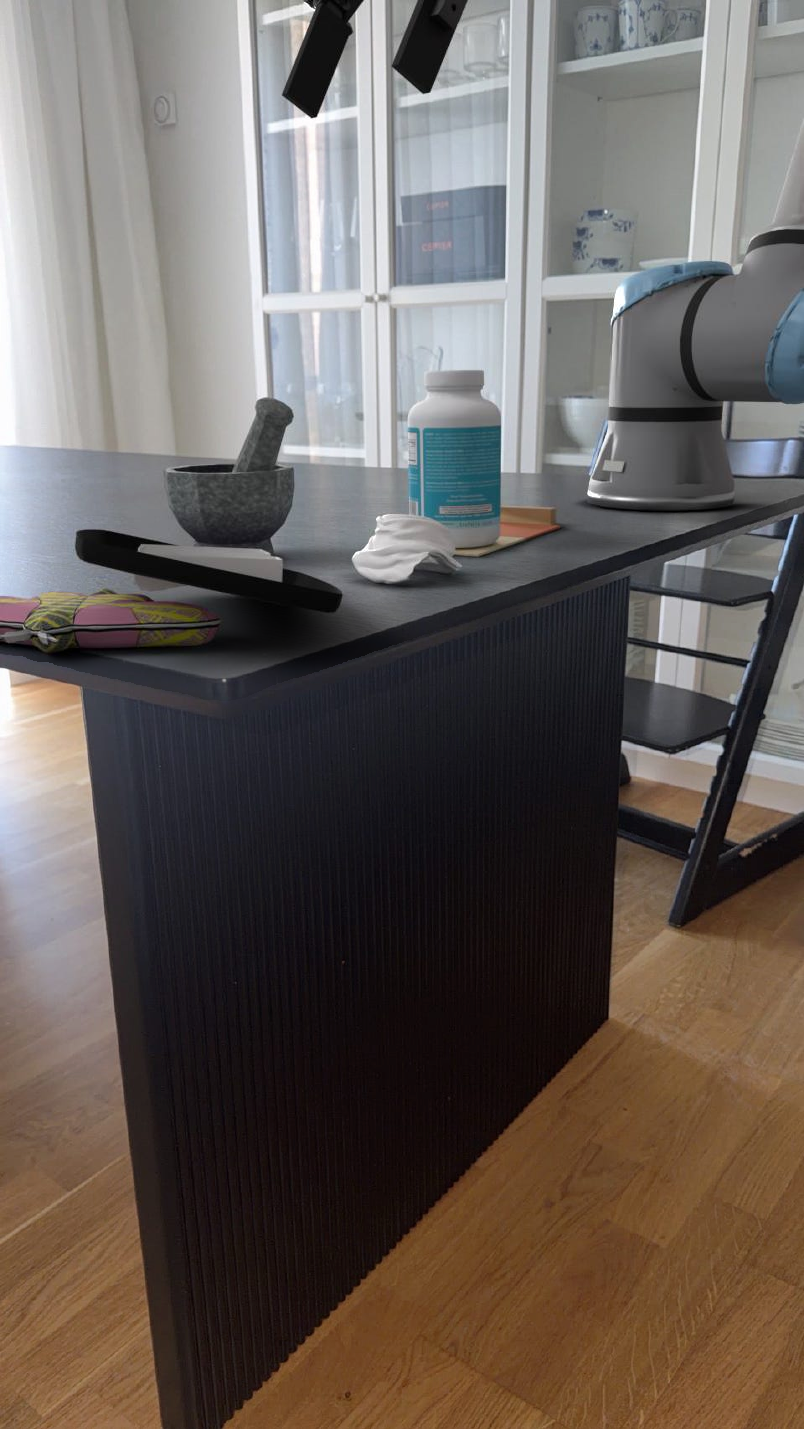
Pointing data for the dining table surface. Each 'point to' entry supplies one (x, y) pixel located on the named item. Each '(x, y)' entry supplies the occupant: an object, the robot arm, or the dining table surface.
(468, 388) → the pill bottle
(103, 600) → the patterned fabric pouch
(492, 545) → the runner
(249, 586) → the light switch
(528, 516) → the stop bar
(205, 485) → the mortar and pestle
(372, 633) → the dining table surface
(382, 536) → the white folded cloth ring
